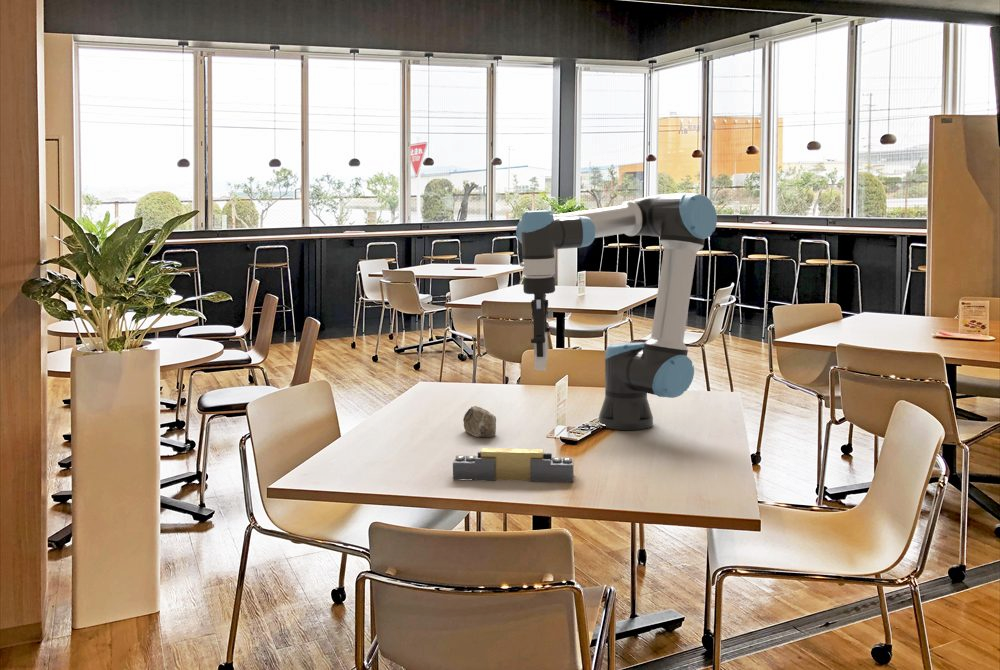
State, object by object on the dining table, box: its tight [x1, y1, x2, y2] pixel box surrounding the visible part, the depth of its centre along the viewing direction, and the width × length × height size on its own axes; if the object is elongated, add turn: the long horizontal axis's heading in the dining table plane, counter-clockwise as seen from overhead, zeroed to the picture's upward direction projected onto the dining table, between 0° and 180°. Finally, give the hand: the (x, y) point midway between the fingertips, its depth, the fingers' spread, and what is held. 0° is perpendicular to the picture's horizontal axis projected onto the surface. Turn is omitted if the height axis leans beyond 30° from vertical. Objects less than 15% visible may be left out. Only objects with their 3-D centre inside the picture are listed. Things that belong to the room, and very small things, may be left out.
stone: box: [462, 405, 497, 438], centre depth 242 cm, size 7×12×7 cm, turn 33°
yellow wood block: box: [480, 447, 545, 481], centre depth 202 cm, size 14×3×6 cm, turn 84°
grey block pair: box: [452, 451, 575, 484], centre depth 203 cm, size 27×6×5 cm, turn 84°
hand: (541, 364), depth 215 cm, fingers open, 13 cm apart
